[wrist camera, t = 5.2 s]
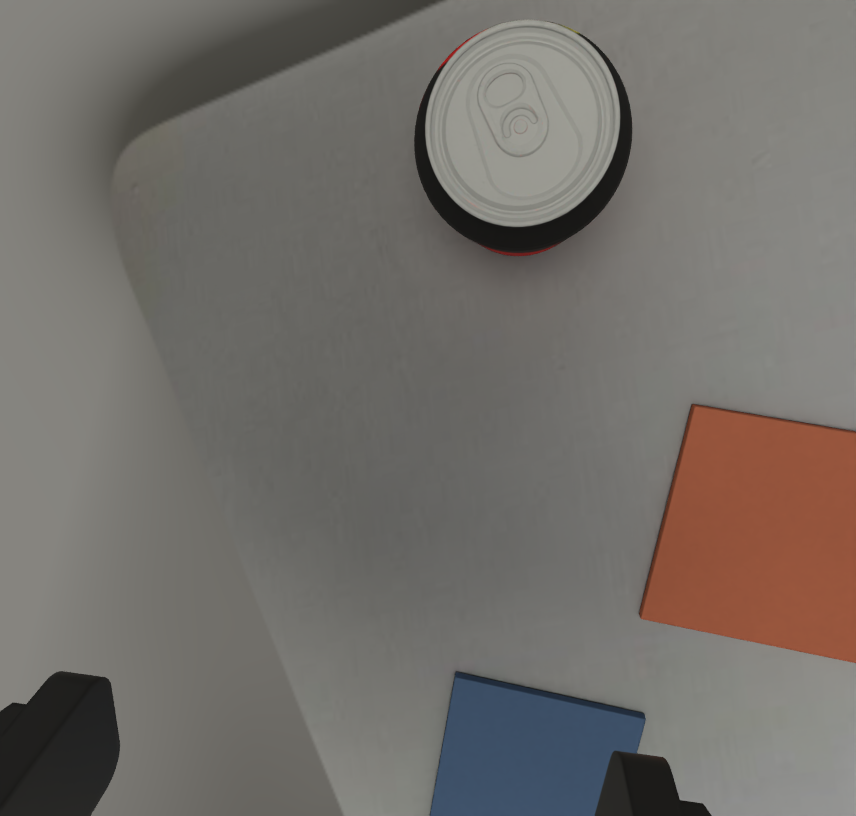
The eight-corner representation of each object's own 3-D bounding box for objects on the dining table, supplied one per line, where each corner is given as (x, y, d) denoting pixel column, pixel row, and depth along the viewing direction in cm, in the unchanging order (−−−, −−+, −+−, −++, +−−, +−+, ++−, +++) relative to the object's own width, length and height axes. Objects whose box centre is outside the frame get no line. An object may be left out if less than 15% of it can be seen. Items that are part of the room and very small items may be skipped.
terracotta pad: (638, 614, 32) (640, 618, 32) (691, 403, 29) (694, 406, 29) (868, 660, 31) (874, 667, 30) (944, 446, 28) (952, 449, 28)
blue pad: (428, 821, 37) (427, 828, 36) (455, 671, 34) (454, 677, 34) (603, 864, 35) (605, 872, 35) (644, 712, 33) (646, 719, 33)
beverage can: (485, 279, 29) (462, 288, 18) (427, 151, 29) (363, 72, 17) (615, 217, 28) (682, 181, 17) (558, 80, 27) (586, -59, 16)
